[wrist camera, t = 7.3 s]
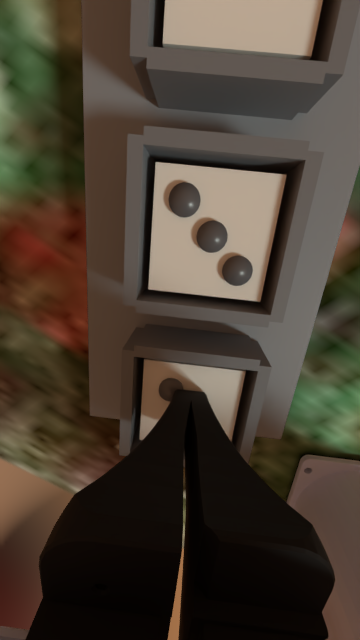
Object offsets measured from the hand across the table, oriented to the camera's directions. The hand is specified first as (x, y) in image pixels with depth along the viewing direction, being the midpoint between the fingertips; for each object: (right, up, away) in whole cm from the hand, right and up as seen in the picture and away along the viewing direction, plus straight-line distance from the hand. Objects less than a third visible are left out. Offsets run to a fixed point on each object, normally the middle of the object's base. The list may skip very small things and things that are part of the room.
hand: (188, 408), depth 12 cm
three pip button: (+1, +8, -1) cm, 8 cm away
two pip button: (0, +1, +2) cm, 2 cm away
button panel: (+1, +8, +1) cm, 9 cm away
